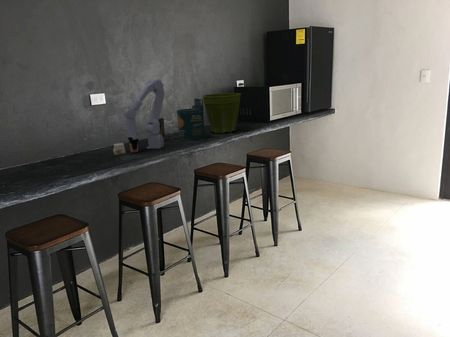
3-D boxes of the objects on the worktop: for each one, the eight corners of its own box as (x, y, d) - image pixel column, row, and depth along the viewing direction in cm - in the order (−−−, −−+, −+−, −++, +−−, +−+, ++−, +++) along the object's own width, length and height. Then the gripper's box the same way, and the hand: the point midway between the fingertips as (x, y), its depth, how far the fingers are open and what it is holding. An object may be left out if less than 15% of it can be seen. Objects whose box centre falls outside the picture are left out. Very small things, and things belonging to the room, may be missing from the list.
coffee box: (161, 142, 268) (159, 119, 264) (152, 142, 269) (150, 119, 265) (165, 139, 276) (163, 117, 272) (157, 139, 278) (155, 117, 274)
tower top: (123, 147, 242) (122, 143, 241) (124, 149, 237) (123, 144, 237) (114, 148, 240) (113, 144, 239) (115, 150, 235) (114, 145, 234)
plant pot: (219, 127, 318) (217, 93, 311) (249, 129, 301) (248, 92, 293) (197, 133, 295) (194, 96, 288) (228, 136, 278) (226, 96, 270)
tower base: (124, 152, 244) (123, 147, 243) (125, 153, 238) (125, 149, 237) (113, 153, 241) (113, 148, 240) (114, 155, 235) (114, 150, 235)
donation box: (205, 138, 272) (203, 99, 265) (184, 141, 266) (181, 101, 258) (197, 135, 286) (194, 98, 279) (177, 138, 280) (173, 100, 272)
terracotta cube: (137, 150, 246) (136, 142, 244) (138, 151, 242) (137, 143, 240) (130, 151, 244) (129, 143, 243) (131, 152, 240) (130, 144, 239)
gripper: (123, 127, 244) (126, 147, 248) (126, 130, 231) (129, 151, 234) (134, 125, 246) (137, 146, 250) (138, 128, 233) (140, 150, 237)
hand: (134, 148), depth 242 cm, fingers open, 6 cm apart
